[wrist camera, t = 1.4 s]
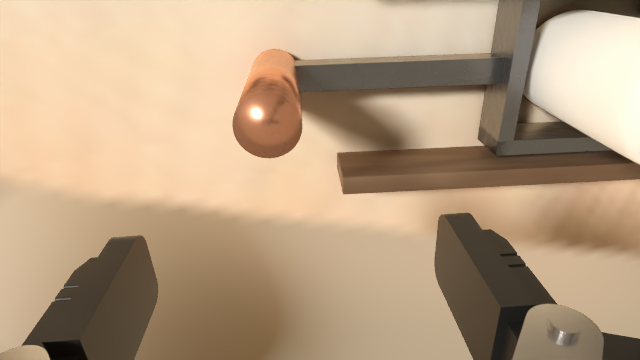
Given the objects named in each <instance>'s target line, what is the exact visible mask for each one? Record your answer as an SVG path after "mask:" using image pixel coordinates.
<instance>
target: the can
mask: <svg viewBox="0 0 640 360" xmlns="http://www.w3.org/2000/svg"><path fill="white" fill-rule="evenodd" d="M523 94H524V95H525V96H526V97H527V98H528V99H529V100H530V101H531V102H532V103H534V104H535V105H537V106H538V107H540V108H542V109H543V110H545V111H547V112H548V113H550V114H552V115H554V116H555V117H557V118H559V119H560V120H562V121H564V122H565V123H567V124H569V125H571V126H572V127H574V128H576V129H577V130H579V131H581V132H583V133H584V134H586V135H588V136H590V137H591V138H593V139H595V140H596V141H598V142H600V143H602V144H603V145H605V146H607V147H609V148H610V149H612V150H614V151H616V152H617V153H619V154H621V155H623V156H624V157H626V158H628V159H630V160H632V161H634V162H635V163H637V164H640V18H636V17H629V16H623V15H617V14H610V13H604V12H597V11H590V10H571V11H567V12H564V13H561V14H559V15H557V16H554V17H553V18H551V19H549V20H547V21H546V22H544V23H543V24H542V25H541V26H540V27H539V28H537V29H536V31H535V34H534V39H533V44H532V49H531V54H530V59H529V64H528V69H527V74H526V79H525V85H524V90H523Z"/></svg>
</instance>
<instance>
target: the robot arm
mask: <svg viewBox="0 0 640 360" xmlns="http://www.w3.org/2000/svg"><path fill="white" fill-rule="evenodd" d="M435 273H436V278H437V281H438V284H439V286H440V288H441V290H442V292H443V295H444V297H445V299H446V301H447V303H448V305H449V307H450V310H451V312H452V314H453V316H454V318H455V321H456V323H457V325H458V327H459V329H460V331H461V334H462V336H463V338H464V340H465V342H466V344H467V347H468V349H469V351H470V353H471V355H472V357H473V359H474V360H640V339H638V338H632V337H626V336H619V335H613V334H608V333H603V332H601V331H600V329H599V328H598V326H597V325H596V324H595V323H594V322H593V321H592V320H591V319H589V318H588V317H587V316H585V315H584V314H582V313H580V312H578V311H576V310H574V309H572V308H569V307H566V306H562V305H557V303H556V302H555V301H554V299H553V298H552V297H551V296H550V295H549V293H548V292H547V291H546V289H545V288H544V287H543V285H542V284H541V283H540V282H539V280H538V279H537V278H536V277H535V275H534V274H533V273H532V271H531V270H530V269H529V268H528V267H526V265H525V263H524V261H523V260H522V259H521V257H520V256H517V252H516V251H515V250H514V248H513V247H512V246H511V245H510V243H509V242H508V241H507V240H506V239H505V238H503V237H501V236H500V235H498V234H497V233H495V232H494V231H492V230H491V229H490V230H482V229H481V228H480V226H479V225H478V223H477V222H476V221H475V219H474V218H473V216H472V215H471V214H470V213H458V214H444V215H441V216H440V217H439V221H438V230H437V241H436V252H435ZM157 297H158V284H157V279H156V275H155V272H154V268H153V265H152V261H151V257H150V254H149V250H148V247H147V243H146V240H145V239H144V237H143V236H127V237H113V238H111V239H110V240H109V241H108V243H107V244H106V246H105V247H104V249H103V250H102V252H101V253H100V255H99V256H98V257H96V258H90V259H89V260H88V261H87V262H85V263H84V264H83V265H81V266H80V267H79V268H78V269H76V270H75V271H74V272H73V273H72V275H71V276H70V278H69V279H68V281H67V282H66V283H65V285H64V289H61V291H60V292H59V293H58V295H57V296H56V298H55V302H52V303H51V305H50V306H49V308H48V309H47V311H46V312H45V313H44V315H43V316H42V317H41V319H40V320H39V322H38V323H37V325H36V326H35V327H34V329H33V330H32V332H31V333H30V334H29V336H28V337H27V339H26V340H25V342H24V343H23V344H22V346H19V347H16V348H12V349H9V350H7V351H5V352H2V353H0V360H134V358H135V356H136V353H137V351H138V348H139V346H140V343H141V341H142V338H143V335H144V333H145V331H146V328H147V326H148V323H149V320H150V318H151V315H152V313H153V310H154V308H155V305H156V302H157Z"/></svg>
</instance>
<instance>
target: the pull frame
mask: <svg viewBox="0 0 640 360" xmlns="http://www.w3.org/2000/svg"><path fill="white" fill-rule="evenodd" d="M540 3H541V0H499V4H498V10H497V17H496V23H495V30H494V36H493V43H492V49H491V53H482V54H455V55H429V56H403V57H376V58H350V59H324V60H297V61H295V60H294V58H293V57H292V56H291V55H290V54H288V53H287V52H285V51H282V50H278V49H271V50H267V51H265V52H263V53H261V54H260V55H259V56H258V57H257V58H256V60H255V61H254V64H253V66H252V69H251V72H250V74H249V77H248V79H247V82H246V85H245V87H244V90H243V93H242V95H241V98H240V101H239V103H238V106H237V109H236V111H235V114H234V117H233V131H234V135H235V137H236V139H237V141H238V142H239V144H240V145H241V146H242V147H243V148H244V149H245V150H246V151H248V152H249V153H251V154H253V155H255V156H258V157H262V158H275V157H279V156H282V155H284V154H286V153H288V152H289V151H291V150H292V149H293V148H294V147H295V146H296V144H297V143H298V141H299V139H300V136H301V133H302V115H301V99H300V92H308V91H333V90H357V89H382V88H406V87H430V86H455V85H479V84H486V88H485V95H484V101H483V107H482V114H481V120H480V127H479V133H478V140H479V141H481V142H482V143H483V144H484V145H485V146H486V147H487V148H488V149H489V150H490V151H491V152H492V153H493V154H494V155H495V156H501V155H522V154H543V153H564V152H585V151H605V150H612V149H610V148H609V147H607V146H605V145H603V144H602V143H600V142H598V141H596V140H595V139H593V138H591V137H590V136H588V135H586V134H584V133H583V132H581V131H579V130H577V129H576V128H574V127H572V126H571V125H569V124H567V123H565V122H546V123H523V124H517V120H518V115H519V110H520V105H521V100H522V95H523V90H524V85H525V79H526V74H527V69H528V64H529V59H530V54H531V49H532V44H533V39H534V34H535V29H536V23H537V18H538V13H539V8H540Z"/></svg>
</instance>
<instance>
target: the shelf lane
mask: <svg viewBox="0 0 640 360" xmlns="http://www.w3.org/2000/svg"><path fill="white" fill-rule="evenodd" d="M337 168H338V173H339V177H340V182H341V186H342V191H343V194H357V193H377V192H396V191H416V190H436V189H455V188H475V187H494V186H514V185H533V184H553V183H573V182H592V181H612V180H631V179H640V164H637V163H635V162H634V161H632V160H630V159H628V158H626V157H624V156H623V155H621V154H619V153H617V152H616V151H614V150H605V151H585V152H564V153H543V154H522V155H501V156H495V155H494V154H493V153H492V152H491V151H490V150H489V149H488V148H487V147H486V146H472V147H451V148H430V149H408V150H387V151H366V152H345V153H337Z"/></svg>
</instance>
